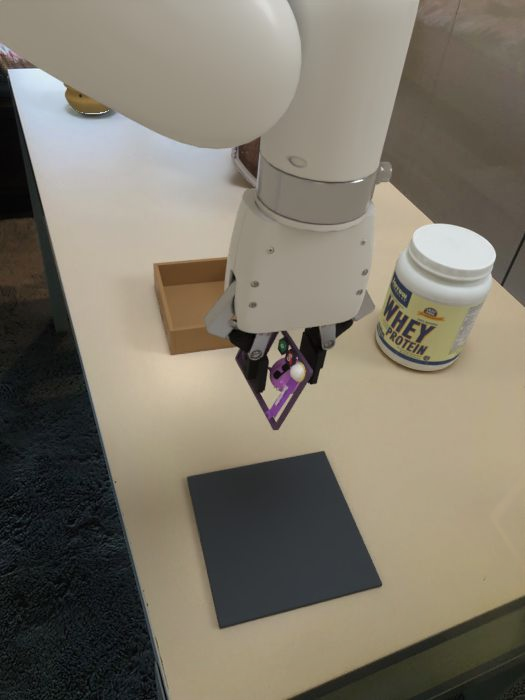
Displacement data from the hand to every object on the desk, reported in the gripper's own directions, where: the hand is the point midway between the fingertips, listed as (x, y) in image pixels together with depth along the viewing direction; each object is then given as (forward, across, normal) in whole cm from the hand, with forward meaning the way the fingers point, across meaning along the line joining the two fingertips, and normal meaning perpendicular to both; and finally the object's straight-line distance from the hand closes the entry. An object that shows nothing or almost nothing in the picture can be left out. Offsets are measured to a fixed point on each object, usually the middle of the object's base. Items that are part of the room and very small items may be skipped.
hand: (281, 375), depth 48 cm
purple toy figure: (+2, 0, 0) cm, 2 cm away
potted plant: (+18, -22, -64) cm, 71 cm away
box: (+18, -1, -30) cm, 35 cm away
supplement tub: (+18, -28, -17) cm, 38 cm away
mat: (+18, 0, +5) cm, 18 cm away
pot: (+18, +9, -107) cm, 109 cm away
